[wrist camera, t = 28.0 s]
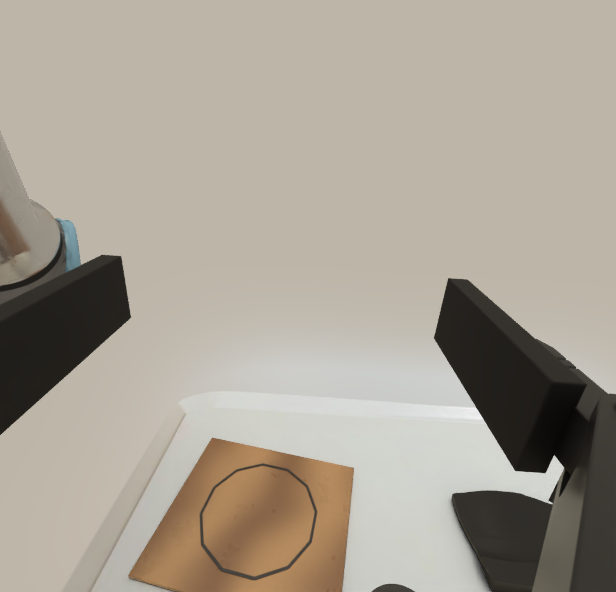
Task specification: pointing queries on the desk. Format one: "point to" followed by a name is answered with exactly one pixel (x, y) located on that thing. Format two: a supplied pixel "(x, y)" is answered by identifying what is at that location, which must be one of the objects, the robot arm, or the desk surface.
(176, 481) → the desk surface
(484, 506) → the curved wedge
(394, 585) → the dot marker
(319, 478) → the paper sheet
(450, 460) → the desk surface
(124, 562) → the desk surface
